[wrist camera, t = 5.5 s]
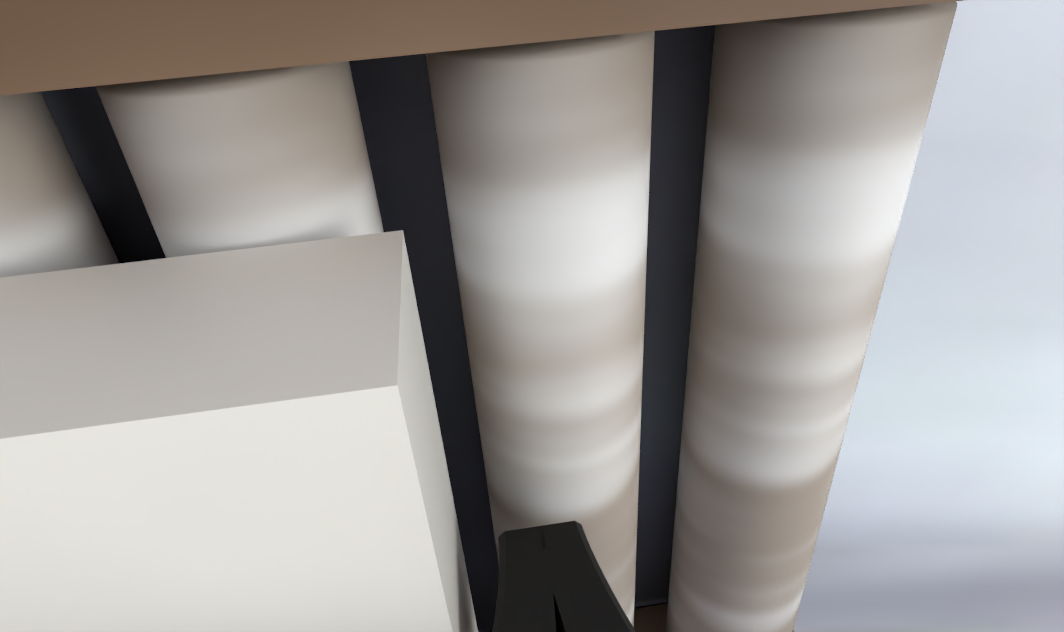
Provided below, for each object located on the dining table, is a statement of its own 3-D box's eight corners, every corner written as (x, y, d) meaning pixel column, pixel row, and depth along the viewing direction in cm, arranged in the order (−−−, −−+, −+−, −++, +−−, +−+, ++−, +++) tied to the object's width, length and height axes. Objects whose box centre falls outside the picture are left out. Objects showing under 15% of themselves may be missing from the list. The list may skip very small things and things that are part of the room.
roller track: (766, 611, 20) (814, 716, 18) (-122, 758, 19) (-204, 898, 16) (931, -137, 10) (1098, -129, 8) (-1055, 27, 8) (-1689, 107, 6)
